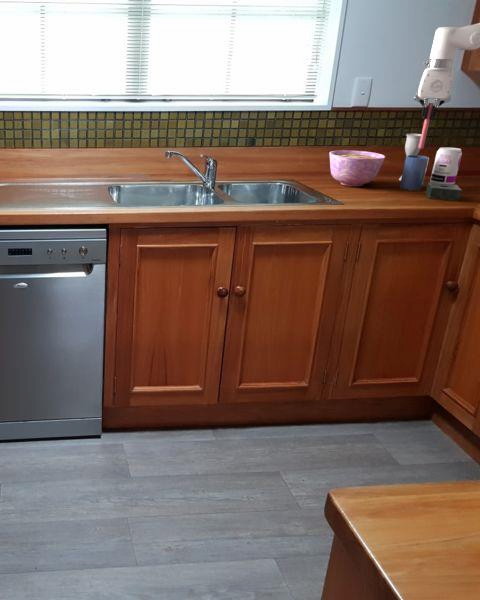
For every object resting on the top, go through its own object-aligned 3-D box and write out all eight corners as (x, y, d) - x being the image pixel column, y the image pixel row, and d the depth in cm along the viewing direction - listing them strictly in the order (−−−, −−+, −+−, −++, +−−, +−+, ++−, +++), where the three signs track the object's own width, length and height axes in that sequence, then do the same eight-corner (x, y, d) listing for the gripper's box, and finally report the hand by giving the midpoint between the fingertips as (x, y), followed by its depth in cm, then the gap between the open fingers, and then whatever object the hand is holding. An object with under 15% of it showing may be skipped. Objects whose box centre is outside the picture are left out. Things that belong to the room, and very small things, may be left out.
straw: (422, 147, 226) (433, 103, 220) (423, 148, 225) (434, 103, 219) (418, 147, 227) (428, 102, 221) (418, 148, 226) (429, 103, 219)
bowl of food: (389, 186, 236) (396, 156, 232) (359, 192, 226) (365, 160, 221) (344, 177, 251) (349, 148, 247) (313, 182, 241) (318, 152, 236)
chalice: (398, 177, 252) (407, 133, 245) (416, 179, 248) (426, 134, 241) (394, 180, 246) (404, 135, 239) (413, 182, 243) (423, 136, 236)
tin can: (420, 187, 235) (427, 156, 230) (422, 191, 228) (430, 159, 224) (398, 185, 237) (405, 154, 233) (400, 189, 231) (407, 157, 226)
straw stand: (454, 195, 222) (457, 184, 220) (458, 201, 214) (461, 190, 212) (425, 193, 225) (428, 182, 223) (429, 198, 217) (431, 187, 215)
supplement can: (450, 187, 236) (460, 147, 230) (454, 191, 229) (465, 151, 223) (427, 185, 238) (436, 146, 232) (430, 189, 231) (440, 149, 225)
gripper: (416, 64, 214) (404, 118, 221) (467, 65, 209) (453, 121, 216) (414, 64, 221) (402, 116, 228) (463, 65, 216) (449, 119, 223)
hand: (427, 118), depth 222 cm, fingers closed on straw, 1 cm apart
